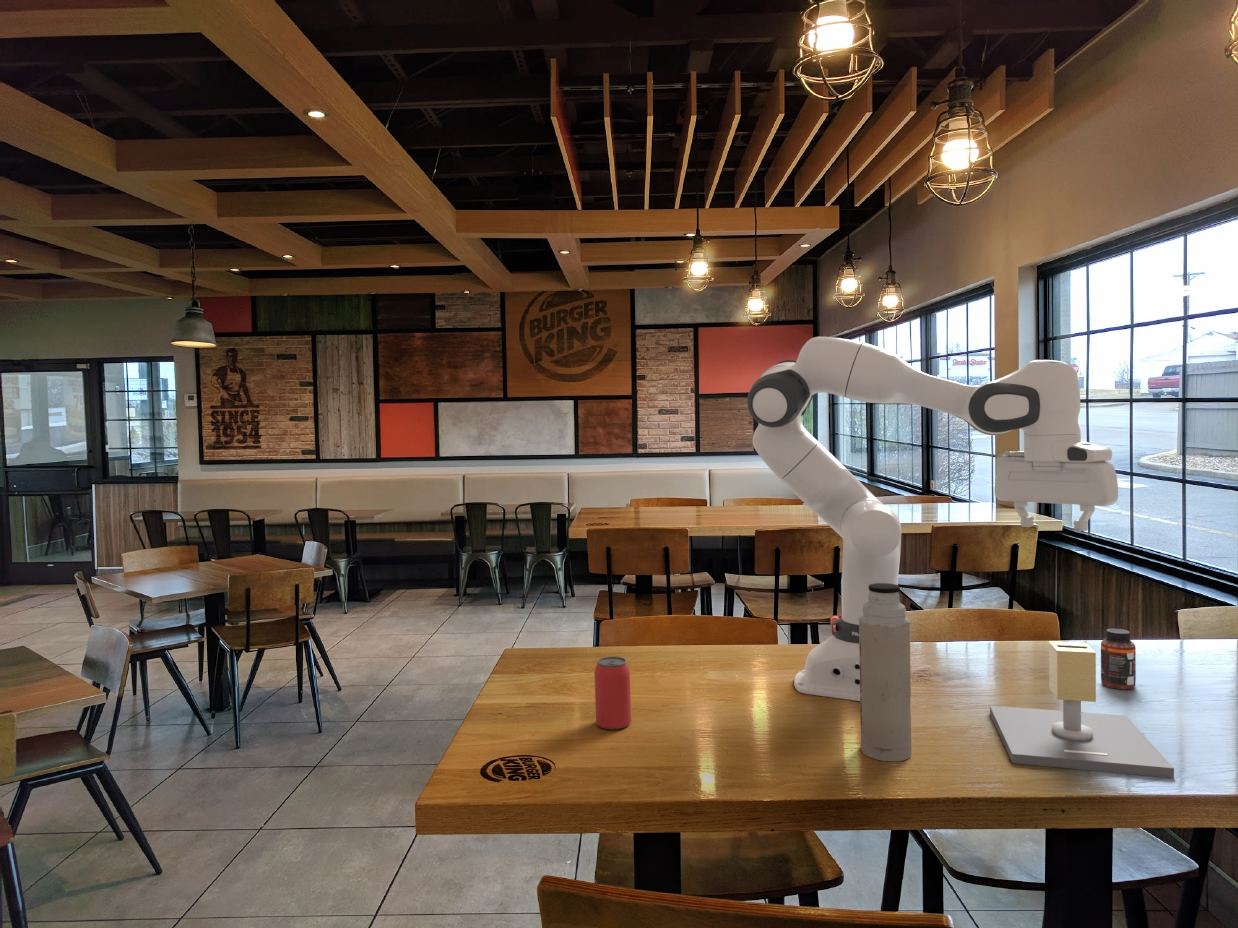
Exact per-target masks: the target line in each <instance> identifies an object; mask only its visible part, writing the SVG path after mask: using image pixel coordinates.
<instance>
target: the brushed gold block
mask: <svg viewBox="0 0 1238 928" xmlns="http://www.w3.org/2000/svg"><path fill="white" fill-rule="evenodd" d="M1048 645H1049V646H1048V653H1049V654H1048V658H1049V660H1048V661H1049V662H1048V663H1049V664H1048V666H1049V670H1048V671H1049V672H1048V676H1049V677H1048V679H1049V680H1048V681H1049V685H1048V686H1049V687H1048V688H1049V690H1050V691H1051V693H1052V694H1053V696H1055V699H1057V700H1061V701H1063V700H1074V701H1081V702H1091V703H1092V702H1093V703H1096V702H1097V675H1096V674H1097V669H1096V668H1097V667H1096V666H1097V663H1096V662H1097V653H1096V651H1095V650H1094V649H1093V648H1092V647H1091V646H1090V645H1089V644H1088V643H1086V642H1072V641H1071V642H1070V641H1052V640H1051V641H1048Z"/></svg>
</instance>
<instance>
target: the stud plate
mask: <svg viewBox="0 0 1238 928" xmlns="http://www.w3.org/2000/svg"><path fill="white" fill-rule="evenodd" d="M989 714H990V717H991V719H992V721H993V723H994V726H995V728H996V730H997V732H998V734H999V736H1000V739H1001V741H1002V744H1003V743H1004V744H1003V746H1004V747H1005V750H1006V753H1007V754H1008V757H1009V759H1010V761H1011V764H1017V765H1018V764H1019V765H1028V766H1029V765H1031V766H1038V767H1040V766H1041V767H1050V768H1059V769H1060V768H1061V769H1063V768H1064V769H1073V770H1085V771H1095V772H1104V773H1106V772H1107V773H1114V772H1115V773H1116V774H1126V775H1136V776H1137V775H1138V776H1148V777H1160V778H1170V779H1175V768H1174V766H1173V765H1172V764H1171V763H1170V762H1169V761H1168V760H1167V758H1165V756H1164V755H1163V754H1162V753H1161V752H1160V751H1159V750H1158V749H1157V748H1156V747H1155V746H1154V744H1152V743H1151V741H1150V739H1148V738H1147V737H1146V736H1145V735H1144V734H1143V733H1142V731H1140V729H1139V728H1138V727H1137V726H1136V725H1135V724H1134V723H1133V722H1132V721H1131V719H1130V718H1129V717H1128V716H1127V715H1123V714H1111V713H1110V714H1108V713H1098V712H1084V711H1083V712H1082V701H1074V700H1062V710H1058V709H1057V710H1055V709H1042V708H1030V707H1028V708H1025V707H1014V706H1000V705H989Z"/></svg>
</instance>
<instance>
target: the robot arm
mask: <svg viewBox="0 0 1238 928" xmlns="http://www.w3.org/2000/svg"><path fill="white" fill-rule="evenodd" d="M819 393H824V394H825V393H826V394H831V395H834V396H839V397H842V398H846V399H849V400H852V401H858V402H863V403H870V404H871V403H872V404H882V405H883V404H885V405H887V404H903V405H904V404H909V405H914V406H919V407H923V408H927V409H930V410H933V411H938V412H941V413H945V414H948V415H952V416H955V417H957V418H960V419H961V420H963V421H964V422H965V423H967V424H968V425H969V426H970V427H972V429H974V430H976V431H977V432H978V433H980V434H983V435H988V436H1001V435H1005V434H1006V433H1009V432H1012V431H1013V430H1022V431H1023V450H1022V451H1020V450H1018V451H1012V450H1011V451H1009V450H1007V451H1003V453H1001V454H999V455H998V456H997V458H996V459H995V460H996V461H995V464H996V465H995V469H996V475H995V480H994V496H995V497H996V499H997V500H998V501H1002V502H1005V501H1006V502H1013V503H1014V504H1013V508H1014V509H1015V511H1016V513H1017V514H1018V516H1019V518H1020V526H1021V527H1029V528H1030V527H1033V526H1034V524H1035V523H1034V518H1035V517H1034V516H1030V514H1029V513H1028V510H1027V509H1026V508H1027V507H1028V505H1029V504H1028V503H1039V504H1040V503H1042V504H1044V503H1045V504H1060V505H1061V504H1062V505H1077V506H1078V505H1079V511H1080V512H1082V514H1081V515H1080V517H1079V519H1076V520H1073V530H1074V531H1077V532H1087V531H1088V529H1089V527H1088V522H1089V520H1090V518H1091V517H1092V516H1093V514H1094V513H1095V511H1096V510H1095V509H1096V507H1095V506H1097V507H1107V506H1109V507H1110V506H1112V505H1114V504H1115V503H1117V501H1118V498H1119V485H1118V484H1119V483H1118V476H1117V471H1116V469H1115V466H1114V465H1112V464H1111V462H1109V461H1111V460H1112V457H1113V451H1112V449H1111V448H1109V447H1106V446H1102V445H1100V444H1099V445H1098V444H1095V443H1091V442H1088V441H1084V440H1082V436H1081V435H1082V433H1081V429H1080V426H1079V415H1080V412H1081V393H1080V382H1079V377H1078V373H1077V371H1076V369H1075V367H1074V366H1072V365H1071V364H1069V363H1067V362H1064V361H1060V360H1053V359H1051V360H1050V359H1034V360H1030V361H1028V362H1027V363H1025V364H1024V365H1023V366H1022V367H1020V368H1019V369H1016V370H1015V371H1013V372H1010V373H1009V374H1006V375H1005V376H1003V377H999V378H997V379H994V380H992V381H989V382H986V383H984V384H978V385H975V384H974V385H972V384H971V385H970V384H964V383H961V382H957V381H953V380H949V379H945V378H941V377H939V376H936V375H935V376H934V375H930V374H928V373H926V372H923V371H921V370H919V369H917V368H915V367H914V366H912V365H911V364H910V363H908V362H907V361H906V360H904V358H901V357H900V356H899V355H897V354H895V353H893V352H892V351H889V350H887V349H884V348H882V347H879V346H877V345H874V344H870V343H867V342H862V341H857V340H853V339H848V338H841V337H833V336H831V337H830V336H815V337H812V338H810V339H808V340H807V341H806V342H805V344H804V345H802V348H801V349H800V350H799V354H798V357H797V359H796V360H795V359H785V360H781V361H780V362H777V363H776V364H774V365H772V366H771V367H769V368H767V369H766V370H765V371H764V372H763V373H762V374H761V375H760V377H759V378H758V379H757V380H755V381H754V382H753V384H752V386H751V387H750V389H749V391H748V395H747V409H748V412H749V414H750V416H751V417H752V418H753V419H754V420H755V421H756V422H757V423H758V424H759V425H757V427H756V429H755V430H754V432H753V436H752V446H753V448H754V449H755V451H756V453H757V454H758V455H759V457H760V458H761V459H762V461H763V462H764V464H766V466H767V467H768V469H770V471H772V473H773V474H774V476H776V477H777V478H778V479H780V480H781V482H782V483H783V484H784V485H785V486H786V487H787V488H789V490H791V491H792V492H793V493H794V494H795V496H797V498H799V499H800V501H802V502H803V503H804V504H805V505H806V506H807V507H808V508H809V509H811V510H812V512H814V513H815V514H816V515H817V516H818V517H819V518H820V519H822V520H823V521H824V522H825V523H826V524H827V526H828V527H830V528H831V529H832V530H834V532H835V533H837V535H839V537H840V538H842V566H841V568H842V570H841V582H840V584H841V585H840V587H841V589H840V590H841V591H840V593H841V617H840V616H837V615H832V617H831V618H830V621H829V623H830V625H831V634H832V635H831V636H830V637H828V638H827V639H825V640H823V641H822V642H821V643H819V644H818V645H817V646H815V647H813V648H812V649H811V650H810V652H809V653H808V655H807V657H806V660H805V666H804V669H802V670H800V671H798V672H797V673H796V675H795V676H794V680H793V681H794V687H795V688H794V689H796V690H797V692H799V693H801V694H807V695H814V696H822V697H829V698H835V699H843V700H850V701H857V702H860V654H859V617H860V616H862V615H863V611H862V609H863V604H864V603H866V602H868V600H869V599H868V594H869V585H870V584H875V583H889V584H895V585H898V586H899V584H898V583H899V572H900V562H901V548H902V524H901V521H900V518H899V517H898V516H897V514H896V513H895V512H894V511H893V510H892V509H891V508H889V507H888V506H886V505H885V504H884V503H883V502H882V501H880V500H879V499H878V497H876V495H874V494H873V493H872V492H871V491H870V490H869V489H868V488H867V487H866V486H865V485H863V483H862V482H861V481H860V480H859V479H858V478H857V477H856V476H855V475H853V474H852V473H851V471H850V470H848V468H846V467H845V465H843V463H841V462H840V461H839V460H838V458H836V457H835V456H834V454H832V453H831V452H830V451H829V450H828V448H827V449H826V447H825V446H824V445H822V444H821V443H820V442H819V441H818V440H817V439H816V438H815V437H814V435H812V434H811V433H810V432H809V431H808V430H807V429H806V428H805V426H804V425H803V422H802V417H803V415H805V413H806V412H807V409H808V407H809V405H810V404H811V402H812V400H813V398H814V396H815V394H819Z"/></svg>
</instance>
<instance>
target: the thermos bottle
mask: <svg viewBox="0 0 1238 928" xmlns="http://www.w3.org/2000/svg"><path fill="white" fill-rule="evenodd" d="M900 592H901V587H900V585H899V584H898V585H895V584H889V583H875V584H870V585H869V594H868V599H869V600H868V602H866V603H864V604H863V609H862V611H863V615H862V616H860V617H859V654H860V701H859V702H860V703H859V706H860V708H859V709H860V713H859V715H860V716H859V717H860V719H859V720H860V750H861V752H862V753H863V754H864V755H865V756H866V757H869V758H871V759H874V760H877V761H883V762H891V763H892V762H893V763H894V762H901V761H902V762H903V761H906V760H908V759H910V758H911V756H912V748H913V747H912V712H911V711H912V709H911V696H912V688H911V687H912V683H911V682H912V680H911V679H912V678H911V675H912V673H911V667H912V666H911V621H910V619H909V618H908V617H906V615H907V609H906V606H905V605H904V604H903V603H901V601H900V600H901V599H900V594H899V593H900Z"/></svg>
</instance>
